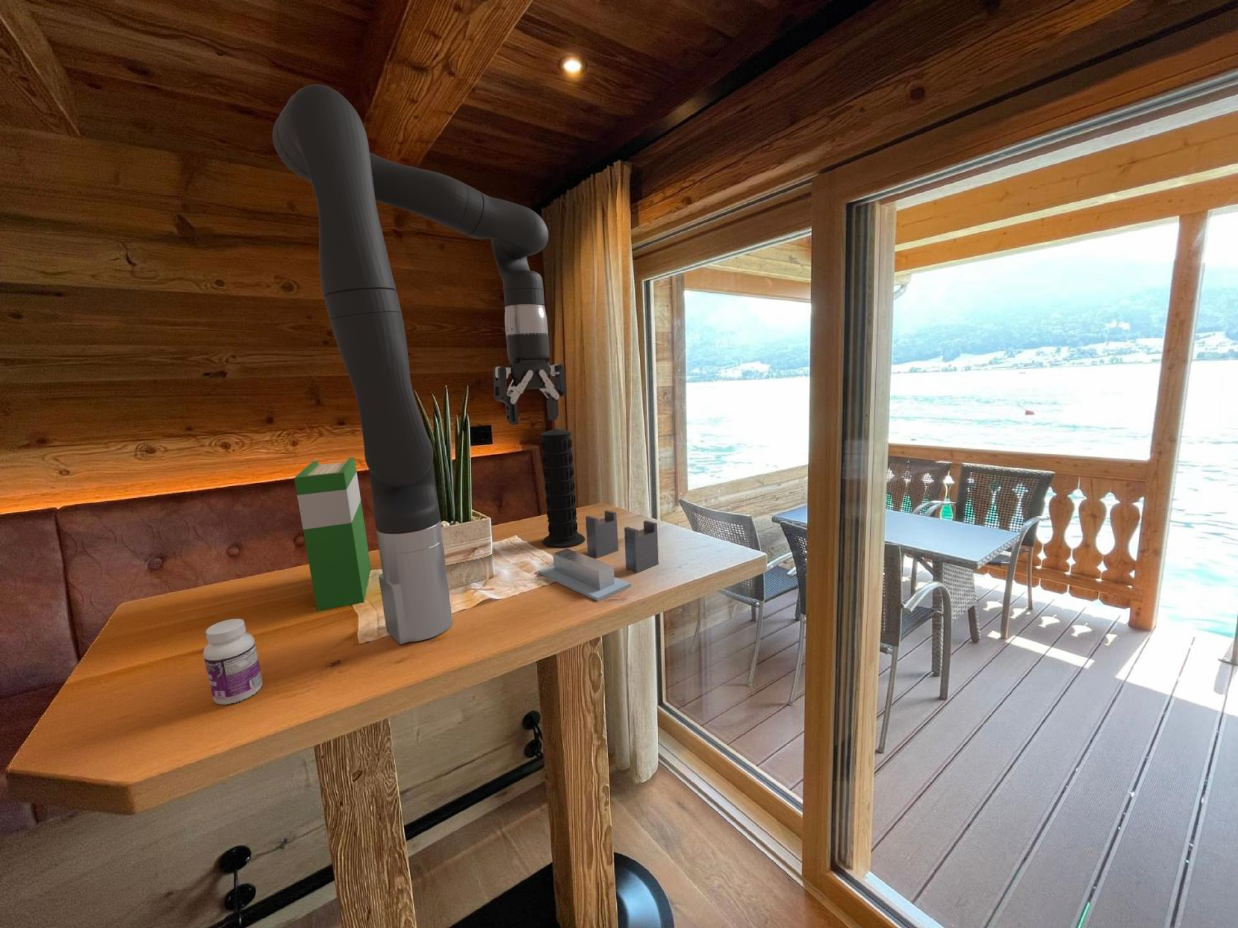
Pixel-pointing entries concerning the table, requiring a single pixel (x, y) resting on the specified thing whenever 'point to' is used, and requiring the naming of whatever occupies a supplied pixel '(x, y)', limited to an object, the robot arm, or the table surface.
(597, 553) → the post left
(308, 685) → the table surface
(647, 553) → the post right
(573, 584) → the mat
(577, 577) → the rail
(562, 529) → the handle grip
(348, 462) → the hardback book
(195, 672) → the table surface
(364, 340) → the robot arm
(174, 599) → the table surface
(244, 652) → the pill bottle
